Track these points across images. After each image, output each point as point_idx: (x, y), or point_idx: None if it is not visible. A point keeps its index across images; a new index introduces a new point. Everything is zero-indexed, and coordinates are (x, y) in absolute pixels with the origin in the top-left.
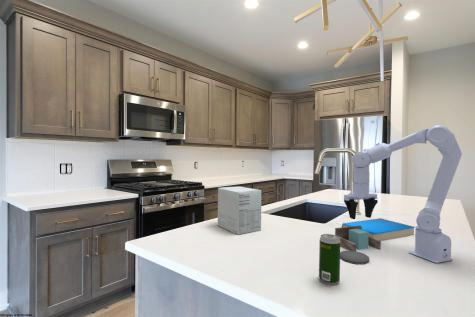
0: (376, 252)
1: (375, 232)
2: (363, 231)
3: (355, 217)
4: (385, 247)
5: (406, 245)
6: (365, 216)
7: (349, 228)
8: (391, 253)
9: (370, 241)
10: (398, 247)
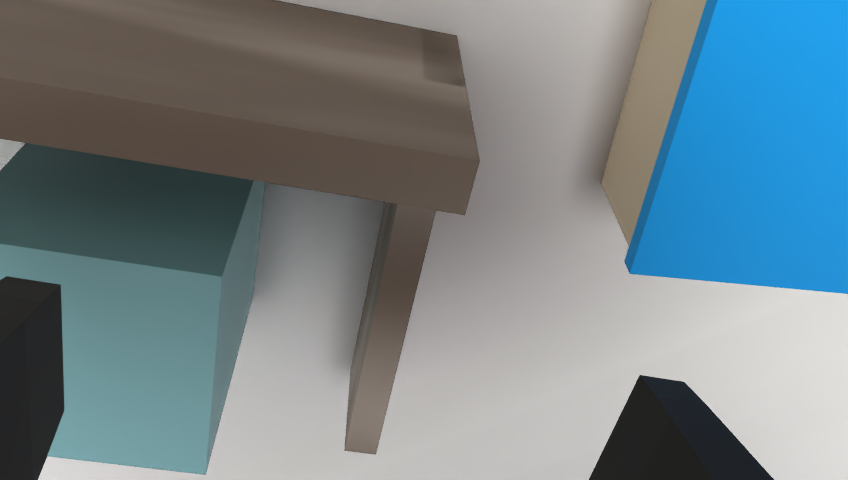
0: (227, 404)
1: (703, 253)
2: (155, 420)
3: (42, 463)
4: (497, 367)
5: (795, 430)
6: (644, 379)
7: (86, 138)
8: (359, 475)
9: (372, 297)
10: None
